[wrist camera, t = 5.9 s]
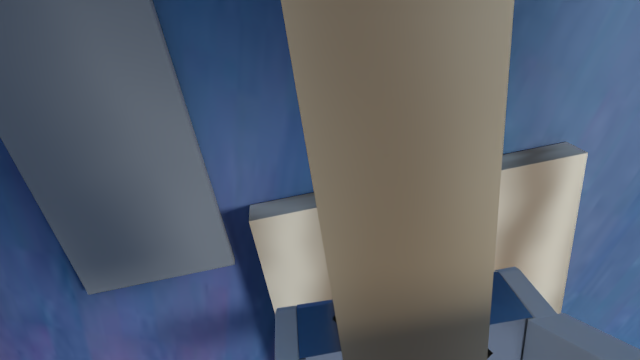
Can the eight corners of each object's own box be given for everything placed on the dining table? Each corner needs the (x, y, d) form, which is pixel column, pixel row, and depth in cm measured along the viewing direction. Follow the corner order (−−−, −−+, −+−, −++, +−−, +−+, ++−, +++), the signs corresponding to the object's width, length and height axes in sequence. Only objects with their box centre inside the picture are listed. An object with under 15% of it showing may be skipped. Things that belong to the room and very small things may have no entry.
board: (566, 141, 27) (587, 152, 25) (534, 372, 38) (547, 391, 36) (249, 205, 26) (248, 221, 24) (309, 423, 37) (312, 445, 35)
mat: (73, -247, 16) (67, -255, 15) (234, 259, 28) (234, 264, 27) (-183, -210, 15) (-199, -217, 15) (92, 288, 27) (88, 294, 27)
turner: (534, -405, 6) (768, -765, 3) (477, 428, 15) (521, 527, 12) (112, -343, 5) (-48, -655, 3) (319, 457, 15) (328, 563, 12)
